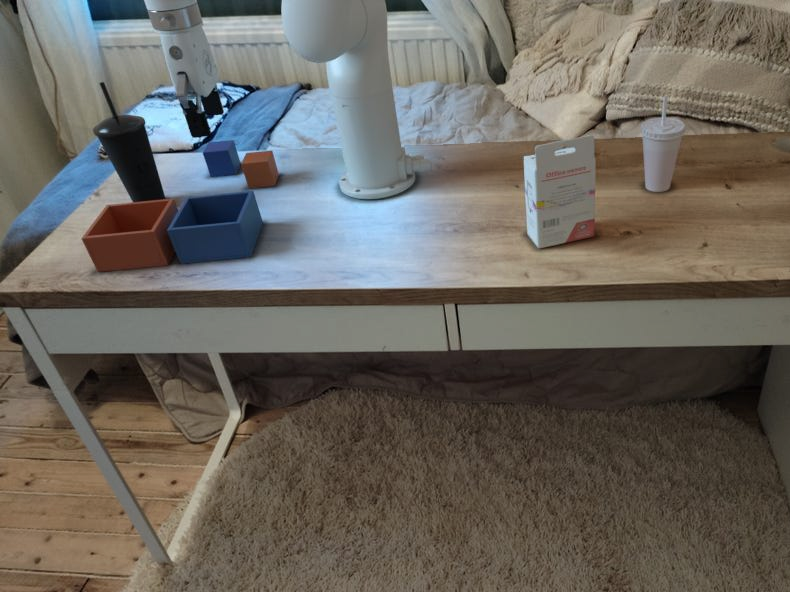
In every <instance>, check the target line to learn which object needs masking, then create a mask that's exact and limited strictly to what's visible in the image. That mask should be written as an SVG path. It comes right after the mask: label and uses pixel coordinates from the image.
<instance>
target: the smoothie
mask: <svg viewBox="0 0 790 592" xmlns="http://www.w3.org/2000/svg"><path fill="white" fill-rule="evenodd" d="M667 108H668V95H664V96H663V98H662V111H661V117H653V118H648V119H646V120H645V121H643V122H642V123H641V125H640V130H639V131H640V134H641V136H642V148H643V149H642V151H643V152H642V153H643V165H644V166H643V167H644V185H645V189H647V191H650V192H653V193H654V192H655V193H662V192H666V191H669V189H670V188H671V184H672V180H673V176H674V171H675V168H676V162H677V158H678V154H679V150H680V146H681V143H682V138H683V136H684V135H685V133H686V124H685V123H684V122H683V121H682V120H681V119H677V118H673V117H667Z"/></svg>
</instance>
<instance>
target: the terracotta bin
mask: <svg viewBox="0 0 790 592" xmlns="http://www.w3.org/2000/svg"><path fill="white" fill-rule="evenodd" d="M178 210H179V208H178V206H177V203H176V199H175V198H166V199H163V200H153V201H142V202H133V201H131V202H125V203H124V202H121V203H111V204H106V205H105V207H104V208H103V209H102V210H101V212H100V213H99V214H98V216H97V217H96V219H94V221H93V222H92V224H91V225H90V226H89V227H88V229H87V230H86V232H85V233H84V234H83V235H82V237H81V241H82V244H83V245H84V247H85V249H86V251H87V253H88V255H89V257H90V259H91V261H92V264H93V265H94V268H95V269H96V272H97V273H102V272H111V271H121V270H130V269H142V268H153V267H162V266H169V264H170V262H171V260H172V259H173V257H174V255H175V253H176V251H175V249H174V246H173V244H172V241H171V239H170V236H169V234H168V231H167V230H168V228H169V226H170V224H171V223H172V221H173V219H174V217H175V216H176V214H177V212H178Z"/></svg>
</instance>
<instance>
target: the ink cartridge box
mask: <svg viewBox="0 0 790 592" xmlns="http://www.w3.org/2000/svg"><path fill="white" fill-rule="evenodd" d="M596 162H597V159H596V157H595V136H594V135H592V134H588V135H585V136H580V137H574V138H568V139H563V140H558V141H557V140H556V141H553V142H548V143H544V144H538V145H536V146H535V147H534V154H531V155H525V156H524V155H523V171H524V173H523V175H524V194H525V195H524V196H525V215H526V232H527V233H526V234H527V236H528V237H529V238H530V240H531V241H532V242H533V244H535V246H536V248H538V249H543V248H548V247H552V246H553V247H554V246H557V245H561V244H565V243H571V242H575V241H580V240H584V239H588V238H592V237H594V236H595V223H596V222H595V221H596V220H595V219H596V218H595V217H596V216H595V215H596V174H597V173H596V169H597V168H596V167H597V165H596Z"/></svg>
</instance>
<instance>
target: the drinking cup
mask: <svg viewBox="0 0 790 592" xmlns="http://www.w3.org/2000/svg"><path fill="white" fill-rule="evenodd" d="M99 86H100V88H101V91H102V94H103V96H104V98H105V100H106V103H107V106H108V108H109V111H110V113H111V116H108V117H107V118H105V119H103V120H102V121H100V123H98V124H96V125H95V126H94V127H93V128H92V133H93V135H94V136H95V137H97V139H98V141H99V143H100V144H101V146H102V148H103V150H104V152H105V153H106V155H107V158H108V159H109V161H110V162H111V164H112V166H113V169H114V170H115V172H116V174H117V175H118V178H119V179H120V181H121V183H122V185H123V187H124V189H125V191H126V192H127V194H128V196H129V198H130V200H131V202H142V201H153V200H163V199H167V198H166V195H165V192H164V188H163V184H162V181H161V177H160V174H159V171H158V167H157V163H156V160H155V156H154V153H153V150H152V146H151V143H150V140H149V136H148V133H147V129H146V120H145V118H144V117H143V116H139V115H133V114H123V113H122V114H118V113H117V111H116V107H115V105H114V103H113V101H112V98H111V95H110V93H109V91H108V88H107V86H106V84H105V81H101V82H99Z"/></svg>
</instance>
